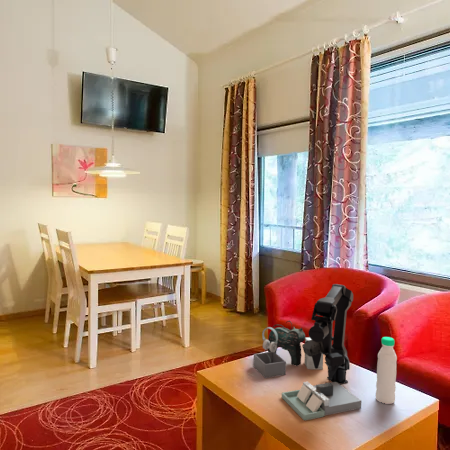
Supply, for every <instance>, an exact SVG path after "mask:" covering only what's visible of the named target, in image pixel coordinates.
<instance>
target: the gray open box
mask: <svg viewBox="0 0 450 450" xmlns="http://www.w3.org/2000/svg"><path fill="white" fill-rule="evenodd" d="M266 353H267V354H268V355H267V354H266ZM268 356H269V357H270V358H269V357H268ZM270 360H271V362H270ZM269 363H270V364H269ZM253 368H254V369H255V370H256V371H257V372H258V374H260V375H261V376H262V377H263V378H264V379H268V378H272V377H273V378H274V377H279V376H280V377H281V376H286V373H287V371H286V368H287V362H286V360H284V359H283V358H282V357H281V356H280V355H278V354H277V352H276V353H275V352H268V351H266V352H261V353H253Z"/></svg>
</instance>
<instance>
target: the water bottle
mask: <svg viewBox="0 0 450 450" xmlns="http://www.w3.org/2000/svg"><path fill="white" fill-rule="evenodd" d="M380 341H381V348H380V350H379V351H378V353H377V364H376V385H375V387H376V391H375V399H376V400H377V401H378V402H380V403H381V402H382V403H381V404H384V403H385V404H386V405H391V404H392V405H393V404H394V402H395V401H396V389H397V387H396V381H397V362H398V361H397V360H398V356H397V354H396V351H395V349H394V347H395V342H396V341H395V338H393V337H391V336H382V338H381V340H380Z"/></svg>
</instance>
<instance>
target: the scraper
mask: <svg viewBox="0 0 450 450" xmlns="http://www.w3.org/2000/svg"><path fill="white" fill-rule="evenodd" d="M331 383H332V382H331V381H330V382H325V383H324V382H323V383H320V384H316V388H315V387H314V385H313V384H311V383H310V381H308V380H307V381H303V382H302V385H304V386H306V387H307V388H308V389H309V390H310V391H311V394H310V395H311V396H312V395H313V394H314V395H315V396H316V397H318V398H319V399H320V400H321V401H322V405H323V406H324V407H327V406H329V399H328V398H327V396H332V395H333V385H332V384H331Z"/></svg>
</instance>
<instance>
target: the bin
mask: <svg viewBox="0 0 450 450" xmlns="http://www.w3.org/2000/svg"><path fill="white" fill-rule="evenodd" d="M299 391H300V389H295V390H290V391H284V392H281V398H282V400H283V401H284V402H285V403H286V404H287V405H288V406H289V407H290V408H291V409H292V410H293V411H294V412H295V413H296V414H297V415H298V416H299V417H300V418H301V419H302V420H303V421H310V420H314V419H320V418H324V417H325V416H326V415H325V411H324V410H323V409H322V408H321V407H319V409H318V410H317V412H312V411H311V410H310V409H309V408H308V407H307V406H306V404H307V403H308V401H309V400H310V398H308V400H307V402H306V403H303V402H302V401H301V400H300V399H299V398H298V397H297V394H298V392H299Z"/></svg>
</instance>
